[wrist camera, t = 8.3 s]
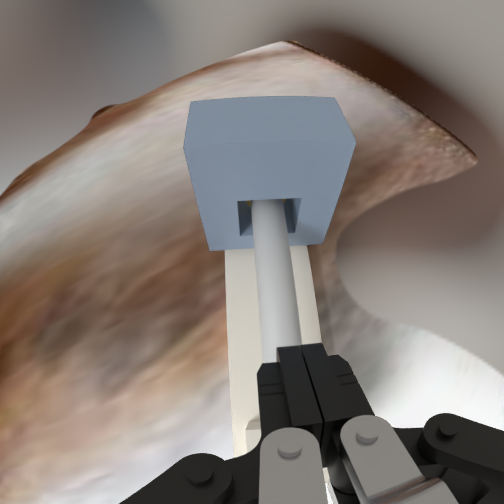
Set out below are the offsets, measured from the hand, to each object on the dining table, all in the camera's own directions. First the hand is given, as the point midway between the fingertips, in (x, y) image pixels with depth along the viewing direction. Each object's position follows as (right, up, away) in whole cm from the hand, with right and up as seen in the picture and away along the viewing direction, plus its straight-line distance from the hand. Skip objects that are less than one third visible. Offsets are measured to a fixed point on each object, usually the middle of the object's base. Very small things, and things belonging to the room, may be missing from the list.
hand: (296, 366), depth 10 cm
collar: (-1, +6, +12) cm, 14 cm away
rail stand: (0, +1, +11) cm, 11 cm away
